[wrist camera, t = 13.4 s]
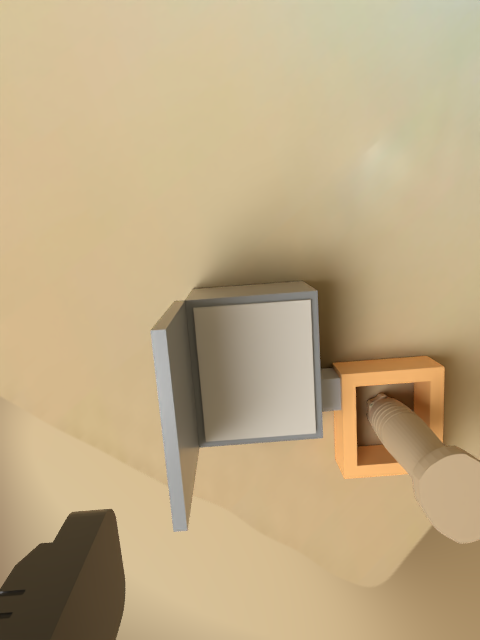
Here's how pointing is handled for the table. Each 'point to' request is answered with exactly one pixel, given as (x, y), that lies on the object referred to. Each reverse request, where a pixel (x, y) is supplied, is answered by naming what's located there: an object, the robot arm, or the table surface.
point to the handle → (431, 469)
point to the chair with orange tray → (267, 382)
